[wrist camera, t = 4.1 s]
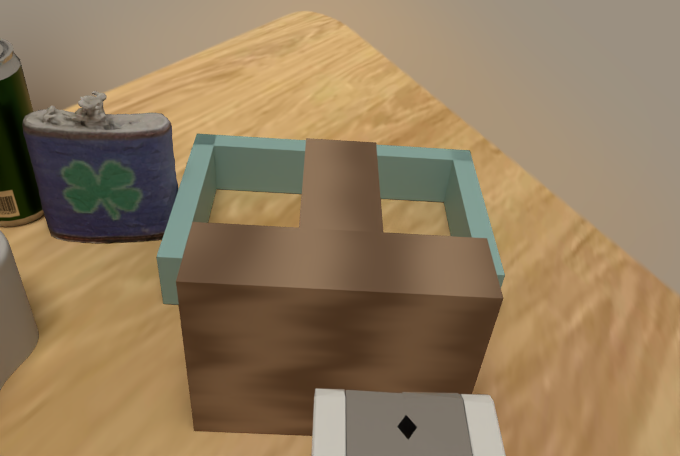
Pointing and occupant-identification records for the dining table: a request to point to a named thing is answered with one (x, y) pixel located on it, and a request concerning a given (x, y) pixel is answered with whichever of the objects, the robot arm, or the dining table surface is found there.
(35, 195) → the beer can
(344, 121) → the dining table surface
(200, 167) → the fence
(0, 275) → the grey bumpy block
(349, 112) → the dining table surface
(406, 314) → the t block
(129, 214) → the flask
